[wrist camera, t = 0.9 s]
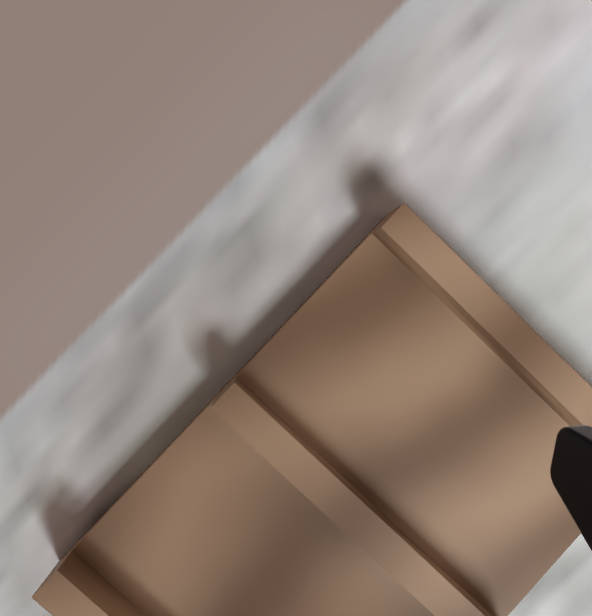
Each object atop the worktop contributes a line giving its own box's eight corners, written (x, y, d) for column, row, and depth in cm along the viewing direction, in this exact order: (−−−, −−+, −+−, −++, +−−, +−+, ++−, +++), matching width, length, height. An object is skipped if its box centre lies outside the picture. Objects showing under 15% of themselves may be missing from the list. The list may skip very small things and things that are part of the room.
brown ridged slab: (629, 452, 22) (676, 470, 20) (323, 795, 21) (332, 860, 19) (386, 215, 21) (404, 202, 19) (59, 561, 20) (31, 597, 18)
